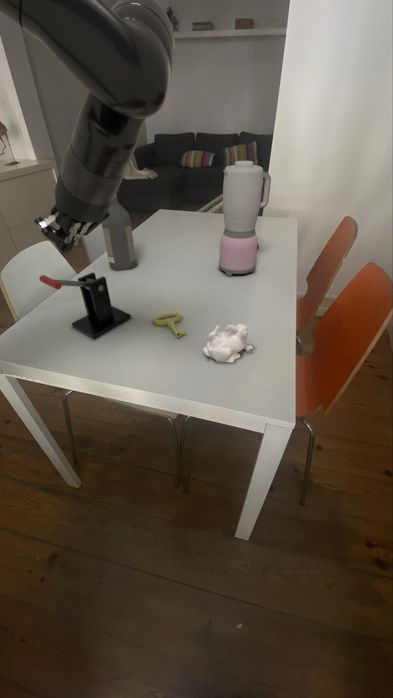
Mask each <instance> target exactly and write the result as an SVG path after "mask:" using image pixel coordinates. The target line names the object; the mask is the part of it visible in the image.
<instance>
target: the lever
mask: <svg viewBox="0 0 393 698" xmlns="http://www.w3.org/2000/svg"><path fill="white" fill-rule="evenodd" d="M96 279H97V278H96ZM96 279H87V278H86V282H81V281H78V280H77V281H76V280H64V279H53V278H51V277H49V276H47V275H44V274H42V275H40V276H39V281H40V282H41V283H43V284H45V285H47V286H49V287H51V288H53V289H55V290H60V289H62V286H63V287H79V288H80V287H85V288H86V289H88V290H90V289H89V285H88V283H89V282H91V281H94V280H96Z"/></svg>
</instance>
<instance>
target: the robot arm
mask: <svg viewBox="0 0 393 698" xmlns="http://www.w3.org/2000/svg"><path fill="white" fill-rule="evenodd" d="M0 15H1V16H3V17H4V18H6V19H7V20H9V21H10V22H11V23H13V24H14V25H16V26H17V27H19V28H20V29H23V30H24V31H25V32H26V33H27V34H29V35H31V36H33V37H34V38H35V39H37V40H39V42H41V43H42V45H44V46H45V47H46V48H47V49H48V51H49V52H50V53H51V54H52V55H53V56H54V57H55V58H56V60H58V61H59V63H60V64H61V65H62V66H63V67H64V68H65V69H66V70H67V71H68V72H69V73H70V74H71V75H72V76H73V77H74V78H75V79H76V80H77V81H78V82H79V83H80V84H81V85H82V86H83V87H84V88H85V89H86V90H87V94H86V96H85V98H84V100H83V103H82V105H81V107H80V109H79V111H78V115H77V117H76V120H75V124H74V127H73V131H72V135H71V138H70V141H69V143H68V145H67V147H66V149H65V151H64V155H63V159H62V161H61V166H60V169H59V172H58V176H57V180H56V183H55V188H54V200H55V203H54V206H53V207H51V209H50V212H49V213H50V215H49V216H48V217H45V218H42V217H36V218H35V219H34V221H33V222H34V223H35V225H36V226H37V228H38V229H39V231H40V232H41V233H42V235H43V236H44V237H45V238H47V239H48V240H49V241H51V242H52V243H54V244H55V246H56V248H57V249H58V250H59V251H60V252H61V253H62V254H65V253H68V252H71V251H72V249H73V248H74V247H75V244H76V242H77V241H78V240H80V238H81V236H82V235H83V236H84V237H85V236H87V235H88V236H89V234H90V233H91V232H93V231H94V230H95V229H96V228H97V227H99V226H100V225H102V224H101V223H102V222H103V221H104V220H105V219H107V218H108V217H109V216H110V214H109V212H108V211H107V210H108V208H109V206H110V204H111V203H112V201H113V199H114V196H115V195H116V194H117V192H118V190H119V188H120V186H121V184H122V181H123V177H124V175H125V172H126V170H127V168H128V166H129V164H130V162H131V160H132V158H133V156H134V154H135V151H136V149H137V146H138V143H139V140H140V136H141V132H142V128H143V125H144V122H145V120H146V119H148V118H150V117H153V116H154V115H156V114H157V113H158V112H159V111H160V110H161V108H162V107H163V106H164V104H165V102H166V100H167V96H168V94H169V93H168V92H169V88H170V84H171V83H170V82H171V77H172V72H173V67H174V63H175V56H176V40H175V34H174V28H173V25H172V22H171V20H170V18H169V16H168V14H167V12H166V11H165V9H164V7H163V6H162V5H161V4H160V3H159V2H158V1H157V0H117V1H116V2H115V3H114V4H113V6H112V7H111V8H110V7H109V6H108V5H107V3H105V1H103V0H0ZM56 224H57V226H56ZM56 227H57V228H56Z"/></svg>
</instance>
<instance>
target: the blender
mask: <svg viewBox="0 0 393 698" xmlns="http://www.w3.org/2000/svg"><path fill="white" fill-rule="evenodd" d="M222 172H223V185H222V215H223V221H224V222H223V223H224V229H223V233H222V234H221V236H220V239H219V240H220V241H219V261H218V268H219V270H221V271H223V272H224V273H225V276H227V277H232V276H233V274H235V275H242V274H243V275H244V274H248V273H251V274H254V273H255V270H256V266H257V265H256V262H257V255H258V251H259V249H260V245H259V242H258V236H257V233H256V224H257V221H258V218H259V217H258V216H259V212H260V210H262V209H264V208H266V207H267V206H268V204H269V199H270V191H271V182H272V177H271V174H270V173H269V172H267V171H264V168H263V167H262V166H260V165H257V164H256V165H255V164H254V161H251V160H237V161H235V162H234V164H232V165H228V166H225V168H224V169H223V171H222ZM263 179H264V186H263ZM263 187H264V188H263ZM262 192H263V196H262Z"/></svg>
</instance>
